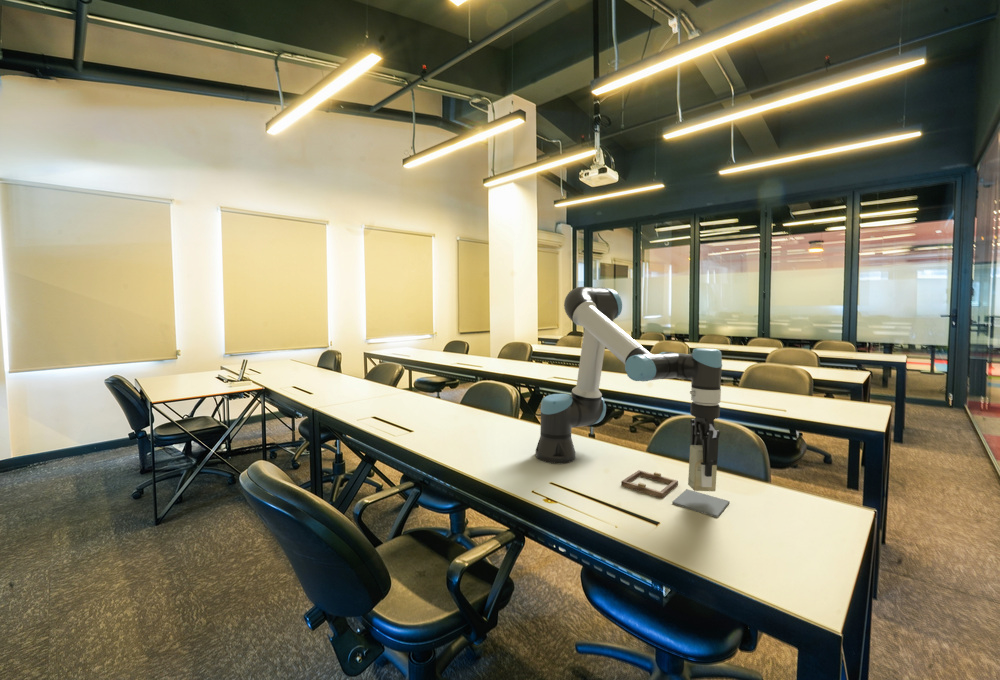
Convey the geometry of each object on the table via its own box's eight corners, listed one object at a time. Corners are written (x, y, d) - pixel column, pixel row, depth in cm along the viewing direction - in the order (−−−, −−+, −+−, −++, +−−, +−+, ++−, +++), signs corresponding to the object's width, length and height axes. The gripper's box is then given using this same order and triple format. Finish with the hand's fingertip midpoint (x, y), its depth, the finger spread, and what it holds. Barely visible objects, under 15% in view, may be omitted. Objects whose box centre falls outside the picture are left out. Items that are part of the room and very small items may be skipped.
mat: (672, 503, 121) (672, 501, 121) (686, 490, 129) (686, 489, 129) (717, 517, 113) (717, 515, 112) (729, 503, 121) (729, 501, 121)
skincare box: (694, 491, 118) (696, 449, 118) (687, 484, 123) (689, 444, 122) (716, 491, 118) (718, 449, 118) (708, 485, 123) (710, 444, 122)
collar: (621, 485, 133) (621, 478, 133) (638, 474, 142) (639, 467, 142) (662, 498, 124) (662, 490, 124) (677, 485, 134) (678, 478, 134)
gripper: (679, 396, 128) (677, 471, 129) (705, 409, 111) (702, 495, 112) (704, 396, 128) (702, 471, 129) (734, 410, 110) (730, 496, 112)
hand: (702, 482), depth 121 cm, fingers closed on skincare box, 4 cm apart
